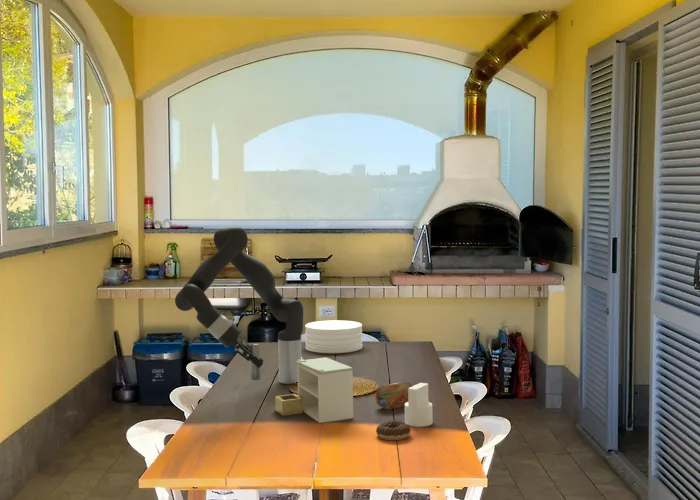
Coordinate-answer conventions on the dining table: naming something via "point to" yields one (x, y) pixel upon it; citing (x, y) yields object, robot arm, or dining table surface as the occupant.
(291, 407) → the tan open box
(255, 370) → the hinge pin
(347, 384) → the cabinet
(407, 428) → the donut
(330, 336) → the plate stack
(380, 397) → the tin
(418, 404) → the cylinder with rectangular tab
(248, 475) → the dining table surface
